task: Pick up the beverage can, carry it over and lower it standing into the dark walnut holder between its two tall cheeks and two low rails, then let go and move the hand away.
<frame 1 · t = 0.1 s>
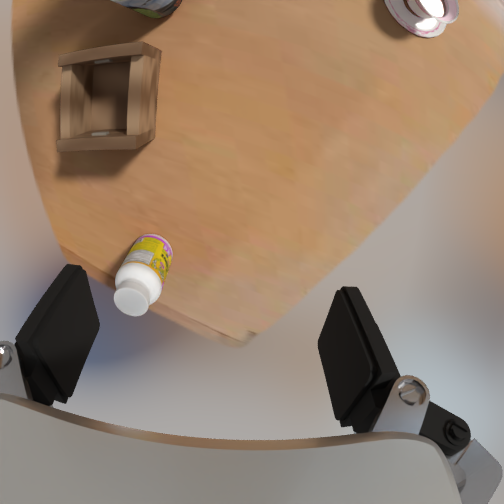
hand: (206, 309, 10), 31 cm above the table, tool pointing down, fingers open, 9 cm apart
supplement bottle: (154, 249, 45), on the table
beverage can: (158, 1, 25), on the table
teacup: (414, 4, 25), on the table
holder: (119, 95, 32), on the table
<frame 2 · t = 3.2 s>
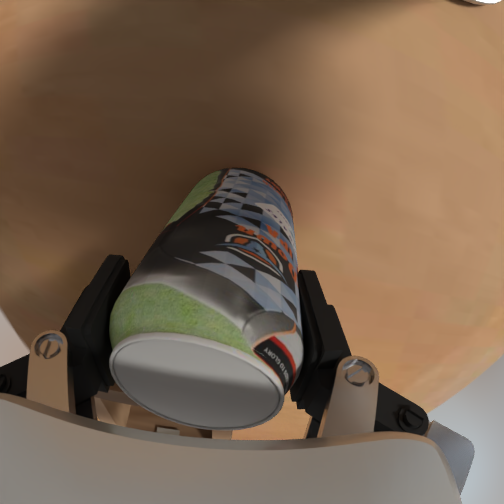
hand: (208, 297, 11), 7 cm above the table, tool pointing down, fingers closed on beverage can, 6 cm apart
beverage can: (224, 208, 17), on the table, touching gripper
holder: (171, 355, 24), on the table
when the fingers open (9 cm above the table, at t = 8.0 s): beverage can drops 1 cm, resting on holder.
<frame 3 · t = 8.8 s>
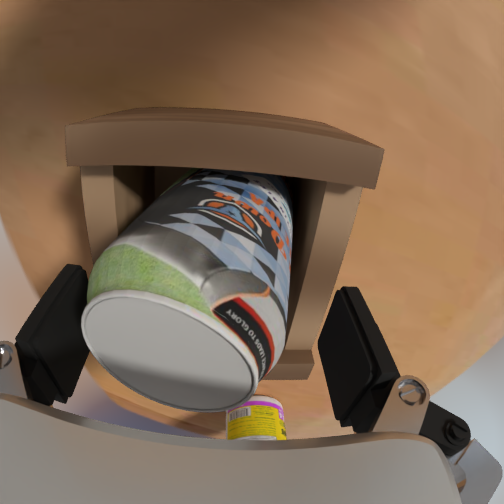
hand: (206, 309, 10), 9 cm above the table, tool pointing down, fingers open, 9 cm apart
supplement bottle: (254, 405, 31), on the table
beverage can: (226, 192, 17), point 1 cm above the table, touching holder
holder: (220, 208, 18), on the table
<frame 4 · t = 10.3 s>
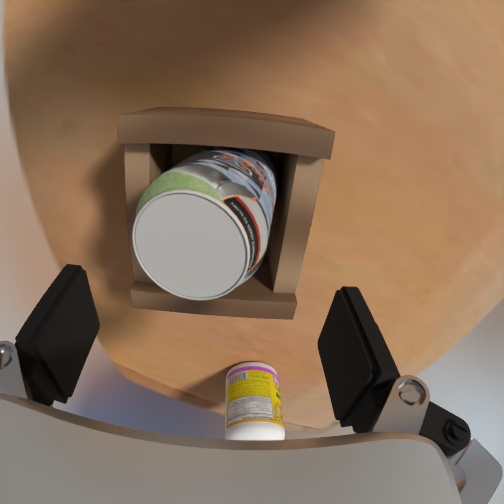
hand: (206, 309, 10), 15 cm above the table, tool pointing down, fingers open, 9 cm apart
supplement bottle: (251, 373, 35), on the table
beverage can: (227, 172, 21), point 1 cm above the table, touching holder
holder: (222, 186, 23), on the table
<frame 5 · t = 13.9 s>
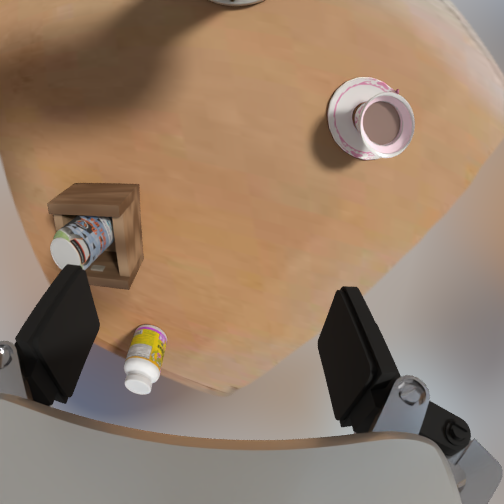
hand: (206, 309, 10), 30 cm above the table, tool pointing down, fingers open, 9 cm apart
supplement bottle: (151, 333, 53), on the table
beverage can: (107, 215, 39), point 1 cm above the table, touching holder
teacup: (367, 118, 35), on the table
holder: (108, 221, 41), on the table
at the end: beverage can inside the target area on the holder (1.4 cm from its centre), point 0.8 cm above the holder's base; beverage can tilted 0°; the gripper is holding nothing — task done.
